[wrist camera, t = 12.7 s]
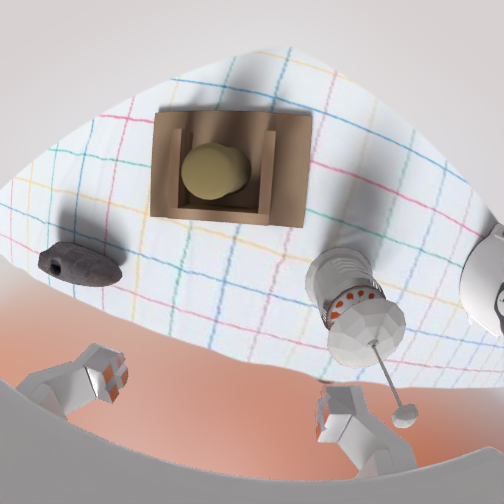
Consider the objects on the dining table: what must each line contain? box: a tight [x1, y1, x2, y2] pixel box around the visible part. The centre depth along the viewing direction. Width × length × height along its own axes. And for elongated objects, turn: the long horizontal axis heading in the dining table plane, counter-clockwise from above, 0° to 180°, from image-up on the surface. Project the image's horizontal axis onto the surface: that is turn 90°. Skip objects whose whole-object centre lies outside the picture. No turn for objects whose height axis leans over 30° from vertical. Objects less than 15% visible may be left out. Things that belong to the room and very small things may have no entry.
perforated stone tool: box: [38, 242, 122, 287], centre depth 36 cm, size 15×5×7 cm, turn 76°
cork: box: [181, 143, 252, 200], centre depth 28 cm, size 6×6×11 cm
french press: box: [305, 248, 418, 428], centre depth 25 cm, size 10×12×25 cm
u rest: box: [150, 111, 312, 228], centre depth 31 cm, size 20×14×6 cm
